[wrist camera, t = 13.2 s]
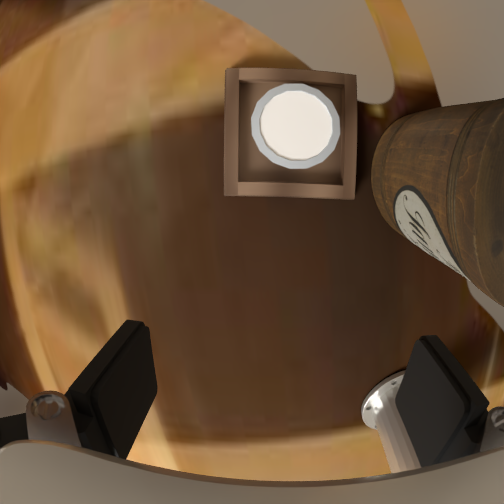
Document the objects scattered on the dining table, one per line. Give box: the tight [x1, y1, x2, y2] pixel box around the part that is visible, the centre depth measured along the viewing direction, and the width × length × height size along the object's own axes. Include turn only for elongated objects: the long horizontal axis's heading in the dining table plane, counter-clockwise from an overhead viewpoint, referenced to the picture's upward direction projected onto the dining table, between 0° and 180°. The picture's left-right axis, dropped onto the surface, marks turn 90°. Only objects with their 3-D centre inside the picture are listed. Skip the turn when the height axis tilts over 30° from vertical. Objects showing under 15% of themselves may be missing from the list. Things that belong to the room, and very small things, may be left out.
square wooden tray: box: [224, 68, 357, 200], centre depth 28 cm, size 13×13×2 cm
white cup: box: [251, 84, 340, 169], centre depth 25 cm, size 7×7×7 cm
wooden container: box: [371, 98, 504, 307], centre depth 19 cm, size 15×15×22 cm
